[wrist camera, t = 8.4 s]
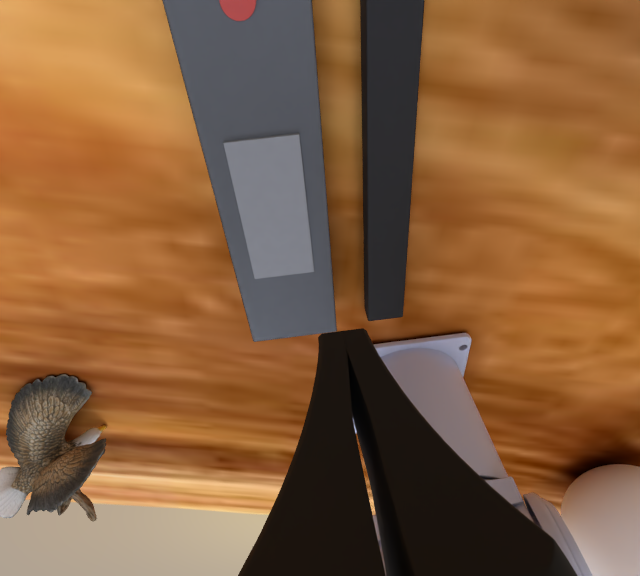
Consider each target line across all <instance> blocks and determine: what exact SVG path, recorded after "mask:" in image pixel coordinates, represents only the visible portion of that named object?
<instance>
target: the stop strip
mask: <svg viewBox="0 0 640 576" xmlns="http://www.w3.org/2000/svg"><path fill="white" fill-rule="evenodd" d="M360 2H361V76H362V151H363V226H364V300H365V311H366V315H367V318H368V321H374V320H382V319H390V318H398V317H402V316H403V306H404V291H405V276H406V262H407V247H408V232H409V218H410V203H411V188H412V174H413V159H414V144H415V130H416V115H417V101H418V86H419V71H420V57H421V42H422V27H423V13H424V0H360Z"/></svg>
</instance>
